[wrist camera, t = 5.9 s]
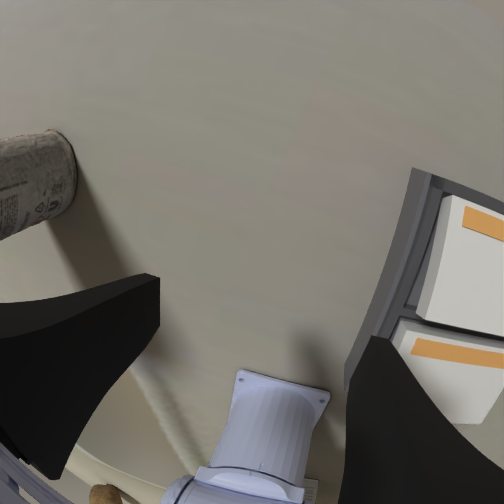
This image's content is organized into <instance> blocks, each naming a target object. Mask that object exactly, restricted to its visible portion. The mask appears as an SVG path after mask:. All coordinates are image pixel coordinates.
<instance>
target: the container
mask: <svg viewBox="0 0 504 504" xmlns="http://www.w3.org/2000/svg"><path fill="white" fill-rule="evenodd" d="M318 484H319V481H318V480H314V479H306V478H304V481H303V485H302V488H304V489H305V494H304V498H303V501H311V502H312V503H313V504H315V501H316V496H317V490H318Z"/></svg>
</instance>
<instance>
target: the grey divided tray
mask: <svg viewBox="0 0 504 504" xmlns="http://www.w3.org/2000/svg"><path fill="white" fill-rule="evenodd" d="M451 195H454V196H457V197H459V198H462V199H465V200H467V201H470V202H473V203H475V204H478V205H480V206H483V207H485V208H488V209H490V210H492V211H495V212H497V213H499V214H502V215H504V202H501V201H499V200H497V199H495V198H492V197H490V196H488V195H485V194H483V193H481V192H478V191H476V190H473V189H471V188H468V187H466V186H463V185H461V184H458V183H456V182H453V181H450V180H447V179H445V178H442V177H439V176H436V175H434V174H431V173H428V172H425V171H422V170H419V169H416V168H413V167H412V171H411V175H410V179H409V184H408V188H407V192H406V196H405V199H404V203H403V207H402V210H401V214H400V218H399V221H398V225H397V228H396V231H395V235H394V238H393V241H392V244H391V247H390V251H389V254H388V257H387V260H386V263H385V266H384V269H383V271H382V274H381V277H380V280H379V283H378V285H377V288H376V291H375V294H374V296H373V299H372V301H371V304H370V307H369V309H368V312H367V314H366V317H365V319H364V322H363V324H362V326H361V329H360V331H359V334H358V336H357V338H356V341H355V343H354V345H353V347H352V350H351V352H350V354H349V356H348V359H347V361H346V363H345V369H344V392H346V393H348V390H349V383H350V379H351V377H352V375H353V373H354V371H355V369H356V367H357V365H358V363H359V361H360V359H361V356H362V354H363V352H364V350H365V348H366V346H367V344H368V342H369V339H370V337H371V335H373V336H378V337H382V338H387V339H389V340H390V341H391V343H392V341H393V339H394V336H395V334H396V331H397V329H398V326H399V324H400V321H401V320H403V321H408V322H412V323H417V324H421V325H426V326H430V327H435V328H439V329H444V330H449V331H454V332H458V333H463V334H468V335H473V336H478V337H483V338H488V339H493V340H498V341H504V336H499V335H494V334H489V333H484V332H480V331H475V330H470V329H465V328H461V327H456V326H452V325H447V324H442V323H438V322H433V321H429V320H425V319H423V318H422V317H420V316H419V315H418V314H416V310H417V307H418V303H419V300H420V296H421V293H422V289H423V285H424V282H425V278H426V274H427V270H428V266H429V261H430V257H431V253H432V248H433V243H434V238H435V233H436V228H437V223H438V217H439V211H440V205H441V200H442V198H445V197H448V196H451Z"/></svg>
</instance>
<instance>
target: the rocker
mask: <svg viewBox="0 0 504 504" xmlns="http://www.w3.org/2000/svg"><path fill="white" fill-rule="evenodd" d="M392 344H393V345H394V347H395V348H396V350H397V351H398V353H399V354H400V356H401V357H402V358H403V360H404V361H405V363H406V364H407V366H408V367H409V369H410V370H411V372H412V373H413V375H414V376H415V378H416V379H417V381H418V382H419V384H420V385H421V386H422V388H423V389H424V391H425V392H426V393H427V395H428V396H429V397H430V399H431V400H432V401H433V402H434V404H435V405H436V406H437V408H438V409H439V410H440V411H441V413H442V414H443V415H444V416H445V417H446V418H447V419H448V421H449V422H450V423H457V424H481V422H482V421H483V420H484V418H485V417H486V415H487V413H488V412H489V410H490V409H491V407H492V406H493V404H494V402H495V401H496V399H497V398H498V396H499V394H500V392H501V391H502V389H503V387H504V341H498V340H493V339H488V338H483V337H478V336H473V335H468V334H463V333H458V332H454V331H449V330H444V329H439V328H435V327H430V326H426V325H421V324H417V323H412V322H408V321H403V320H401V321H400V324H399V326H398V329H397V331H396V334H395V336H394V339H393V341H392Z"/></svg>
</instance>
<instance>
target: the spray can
mask: <svg viewBox="0 0 504 504" xmlns="http://www.w3.org/2000/svg"><path fill="white" fill-rule="evenodd" d="M76 184H77V171H76V165H75V159H74V156H73V153H72V151H71V147H70V145H69V143H68V142H67V141H66V139H64V137H63V136H62V135H61V134H60V133H59V132H58V131H57V130H50V129H48V130H47V131H45V132H44V133H41V134H31V135H21V136H16V137H11V138H5V139H0V241H1V240H3V239H5V238H7V237H9V236H11V235H13V234H15V233H17V232H20V231H22V230H24V229H26V228H28V227H30V226H33V225H36V224H39V223H40V222H42V221H45V220H48V219H50V218H52V217H55V216H57V215H59V214H61V213H62V212H63V211H64V210H65V209H66V208H67V207H68V206H69V205H70V204H71V202H72V201H73V198H74V194H75V190H76Z"/></svg>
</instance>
